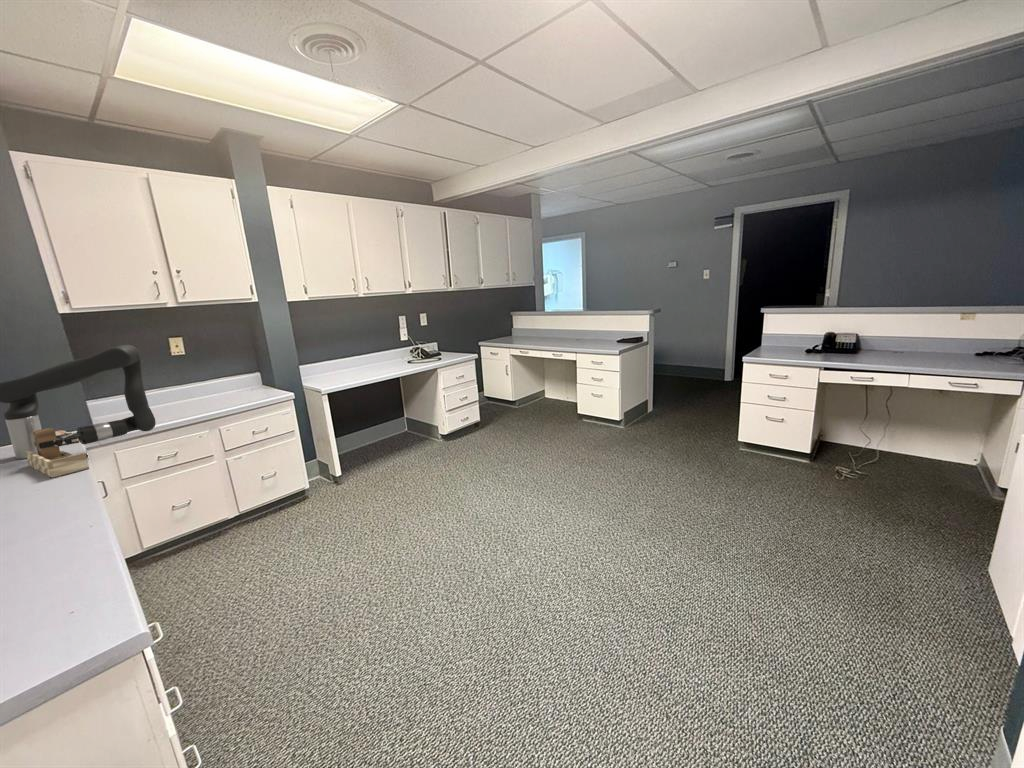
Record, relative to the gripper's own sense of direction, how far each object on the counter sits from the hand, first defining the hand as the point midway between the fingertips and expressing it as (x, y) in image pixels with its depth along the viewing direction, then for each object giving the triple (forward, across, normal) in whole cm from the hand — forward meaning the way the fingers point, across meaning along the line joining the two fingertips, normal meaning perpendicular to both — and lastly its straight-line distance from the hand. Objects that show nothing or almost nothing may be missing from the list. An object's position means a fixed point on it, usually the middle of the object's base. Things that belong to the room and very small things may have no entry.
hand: (37, 445), depth 163 cm
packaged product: (-16, -45, +10) cm, 49 cm away
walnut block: (-3, 0, +9) cm, 9 cm away
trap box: (-3, +8, +9) cm, 12 cm away
